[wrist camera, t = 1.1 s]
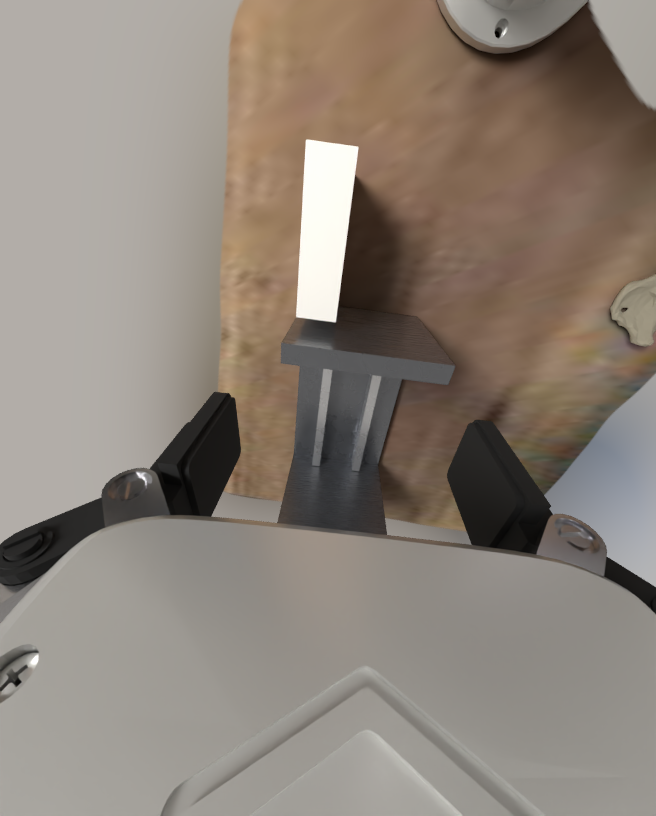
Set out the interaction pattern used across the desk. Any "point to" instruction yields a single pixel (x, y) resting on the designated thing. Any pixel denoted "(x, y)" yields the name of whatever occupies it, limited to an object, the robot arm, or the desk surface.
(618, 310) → the jawbone
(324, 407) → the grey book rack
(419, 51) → the desk surface
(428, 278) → the desk surface
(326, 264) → the door
